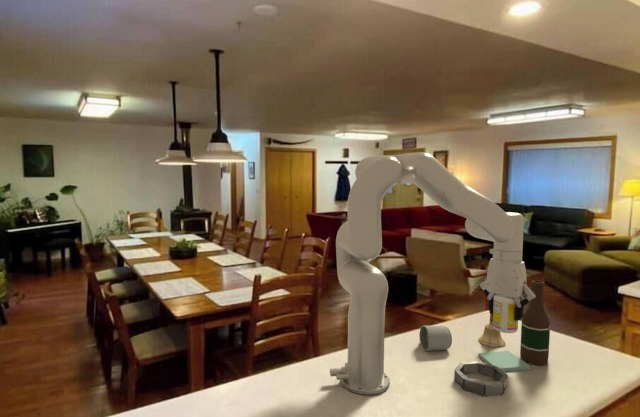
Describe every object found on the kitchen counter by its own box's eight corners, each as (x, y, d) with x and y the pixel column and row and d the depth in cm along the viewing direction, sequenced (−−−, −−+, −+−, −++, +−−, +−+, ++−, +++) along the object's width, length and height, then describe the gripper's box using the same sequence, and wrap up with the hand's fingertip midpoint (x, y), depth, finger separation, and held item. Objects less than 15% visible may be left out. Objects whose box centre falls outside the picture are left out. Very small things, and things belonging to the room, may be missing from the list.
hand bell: (475, 336, 140) (477, 290, 138) (501, 337, 139) (503, 291, 137) (481, 346, 132) (483, 298, 130) (509, 348, 130) (511, 299, 129)
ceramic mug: (453, 353, 127) (453, 328, 126) (428, 355, 125) (428, 330, 125) (437, 340, 137) (438, 317, 137) (414, 341, 136) (414, 319, 135)
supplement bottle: (519, 328, 121) (520, 285, 120) (515, 335, 115) (517, 291, 114) (494, 323, 124) (496, 282, 123) (490, 330, 119) (492, 287, 118)
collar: (470, 398, 102) (471, 386, 101) (447, 373, 114) (448, 363, 114) (516, 393, 104) (517, 382, 103) (489, 370, 116) (489, 360, 115)
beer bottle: (552, 367, 118) (557, 285, 115) (523, 365, 119) (527, 283, 117) (543, 355, 125) (547, 278, 123) (516, 353, 127) (519, 277, 125)
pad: (497, 372, 115) (497, 368, 115) (478, 356, 125) (478, 353, 125) (529, 369, 116) (530, 366, 116) (508, 354, 126) (508, 350, 126)
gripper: (472, 252, 122) (471, 311, 124) (532, 262, 109) (530, 328, 110) (486, 249, 127) (484, 306, 128) (545, 258, 113) (542, 321, 115)
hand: (505, 315), depth 119 cm, fingers closed on supplement bottle, 6 cm apart
